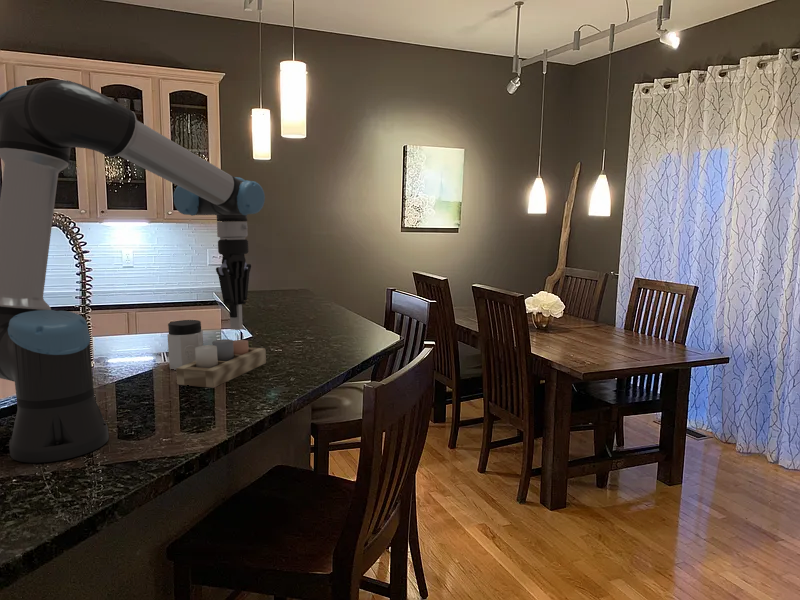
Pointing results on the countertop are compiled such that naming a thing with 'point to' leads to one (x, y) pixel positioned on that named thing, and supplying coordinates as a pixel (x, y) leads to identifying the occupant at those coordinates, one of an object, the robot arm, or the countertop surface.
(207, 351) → the key ivory
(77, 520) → the countertop surface
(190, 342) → the jar
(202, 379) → the patterned wooden tray
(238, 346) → the brown piece
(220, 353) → the grey cylinder
